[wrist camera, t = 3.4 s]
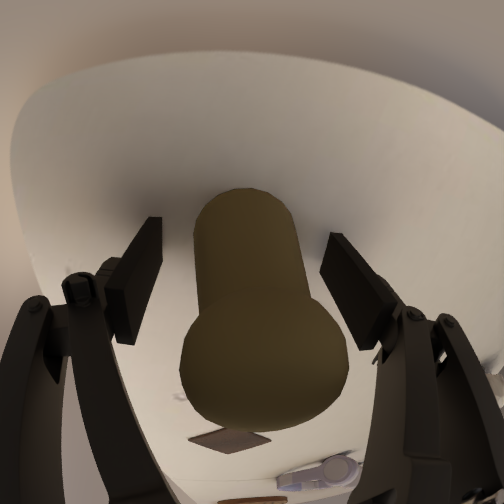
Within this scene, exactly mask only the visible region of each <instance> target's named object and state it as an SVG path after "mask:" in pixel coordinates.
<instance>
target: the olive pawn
mask: <svg viewBox="0 0 504 504" xmlns="http://www.w3.org/2000/svg"><path fill="white" fill-rule="evenodd" d="M193 238H194V255H195V269H196V282H197V294H198V305H199V316H198V317H197V319H196V320H195V321H194V323H193V324H192V325H191V327H190V329H189V331H188V333H187V335H186V336H185V338H184V343H183V349H182V354H181V360H180V368H179V372H180V377H181V382H182V386H183V389H184V391H185V394H186V396H187V398H188V400H189V401H190V403H191V404H192V406H193V407H194V409H195V410H196V411H197V412H198V413H199V414H200V415H201V416H203V417H204V418H205V419H206V420H208V421H210V422H213V423H215V424H217V425H220V426H222V427H225V428H227V429H232V430H237V431H242V432H269V431H278V430H282V429H286V428H290V427H294V426H297V425H299V424H302V423H304V422H306V421H309V420H311V419H312V418H314V417H316V416H317V415H319V414H320V413H322V412H323V411H325V410H326V409H327V408H328V407H329V406H330V405H331V404H332V403H333V402H334V401H335V400H336V399H337V398H338V397H339V396H340V394H341V392H342V390H343V387H344V385H345V382H346V379H347V375H348V371H349V361H348V353H347V346H346V339H345V337H344V335H343V333H342V331H341V329H340V327H339V325H338V324H337V322H336V321H335V320H334V319H333V317H332V316H331V315H330V314H329V312H328V311H327V310H326V309H325V308H324V307H323V306H322V305H321V304H320V303H319V302H318V301H316V300H314V299H312V298H311V295H310V291H309V286H308V281H307V277H306V272H305V268H304V263H303V259H302V255H301V250H300V246H299V242H298V238H297V233H296V229H295V226H294V222H293V219H292V216H291V213H290V212H289V211H288V209H287V208H286V207H285V205H284V204H283V203H282V202H281V201H280V200H278V199H277V198H275V197H274V196H272V195H271V194H269V193H268V192H264V191H260V190H256V189H253V188H246V189H233V190H231V191H228V192H225V193H223V194H220V195H218V196H217V197H215V198H214V199H213V200H212V201H210V202H209V203H208V204H207V205H205V207H204V208H203V210H202V211H201V213H200V215H199V216H198V218H197V220H196V224H195V228H194V233H193Z"/></svg>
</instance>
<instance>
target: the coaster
mask: <svg viewBox="0 0 504 504" xmlns="http://www.w3.org/2000/svg"><path fill="white" fill-rule="evenodd" d="M188 441H190V442H193V443H196V444H198V445H201V446H204V447H207V448H210V449H212V450H215V451H219V452H222V453H225V454H231V453H235V452H239V451H242V450H246V449H249V448H252V447H256V446H259V445H262V444H265V443H268V442H271V440H270V439H268V438H265V437H262V436H259V435H257V434H254V433H252V432H242V431H237V430H232V429H227V428H223V429H220V430H217V431H214V432H211V433H208V434H204V435H201V436H197V437H194V438H190V439H188Z"/></svg>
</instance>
